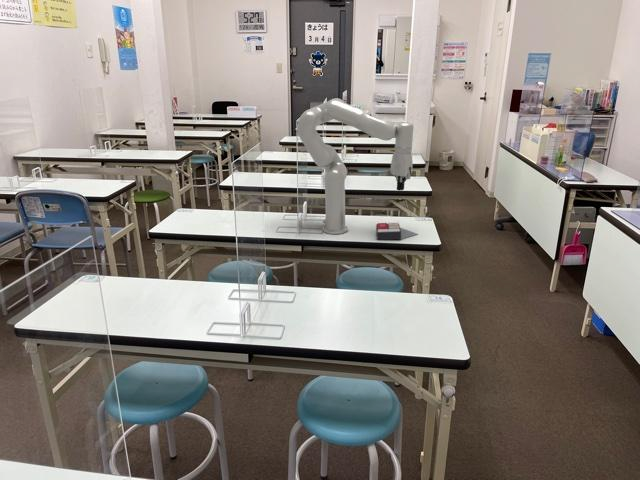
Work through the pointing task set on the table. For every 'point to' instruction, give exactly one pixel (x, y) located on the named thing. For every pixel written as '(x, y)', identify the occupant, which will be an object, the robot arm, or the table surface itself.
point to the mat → (406, 233)
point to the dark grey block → (388, 231)
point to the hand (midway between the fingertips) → (400, 189)
